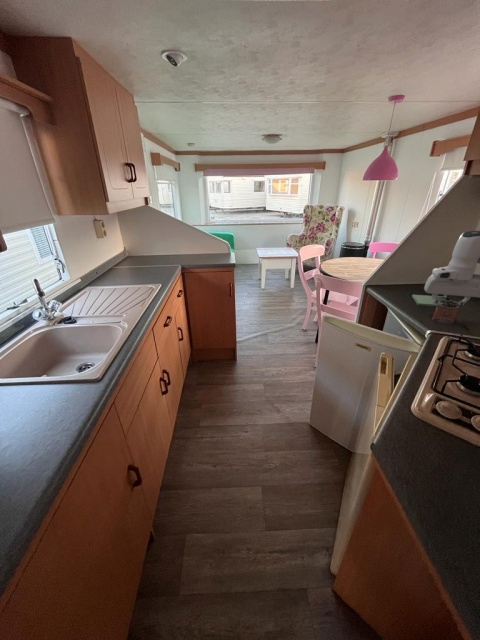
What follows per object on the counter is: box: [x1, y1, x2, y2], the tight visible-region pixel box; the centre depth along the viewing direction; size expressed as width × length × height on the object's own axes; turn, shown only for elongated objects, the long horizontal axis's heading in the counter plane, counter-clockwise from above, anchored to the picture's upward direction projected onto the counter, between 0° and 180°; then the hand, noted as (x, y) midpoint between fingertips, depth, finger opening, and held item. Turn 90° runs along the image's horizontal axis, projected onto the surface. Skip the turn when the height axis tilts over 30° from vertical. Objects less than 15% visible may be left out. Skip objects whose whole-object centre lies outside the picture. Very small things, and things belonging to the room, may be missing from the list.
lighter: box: [431, 299, 461, 324], centre depth 115 cm, size 8×3×10 cm, turn 65°
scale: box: [411, 294, 448, 308], centre depth 135 cm, size 14×12×3 cm
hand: (447, 304), depth 114 cm, fingers open, 8 cm apart
